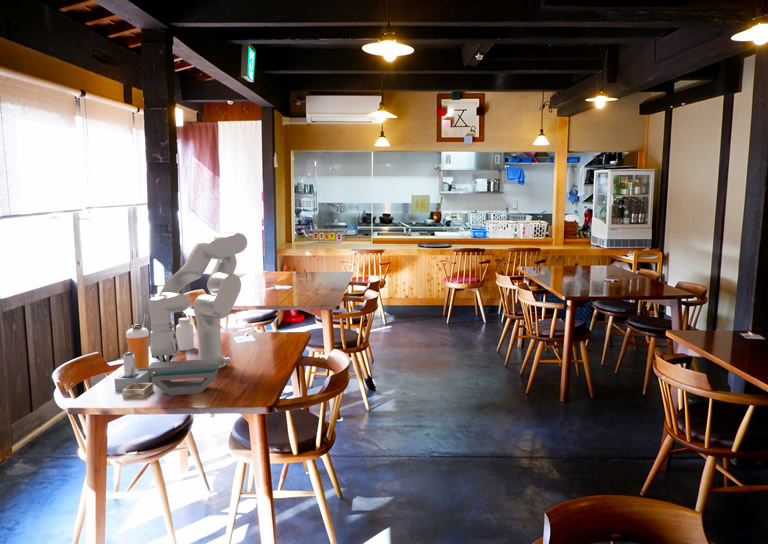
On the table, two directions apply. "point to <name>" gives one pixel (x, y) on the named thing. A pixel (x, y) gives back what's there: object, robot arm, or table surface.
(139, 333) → the shaker bottle
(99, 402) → the table surface
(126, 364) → the drill peg
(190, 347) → the pill bottle
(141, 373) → the socket block
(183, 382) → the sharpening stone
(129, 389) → the wooden tray
